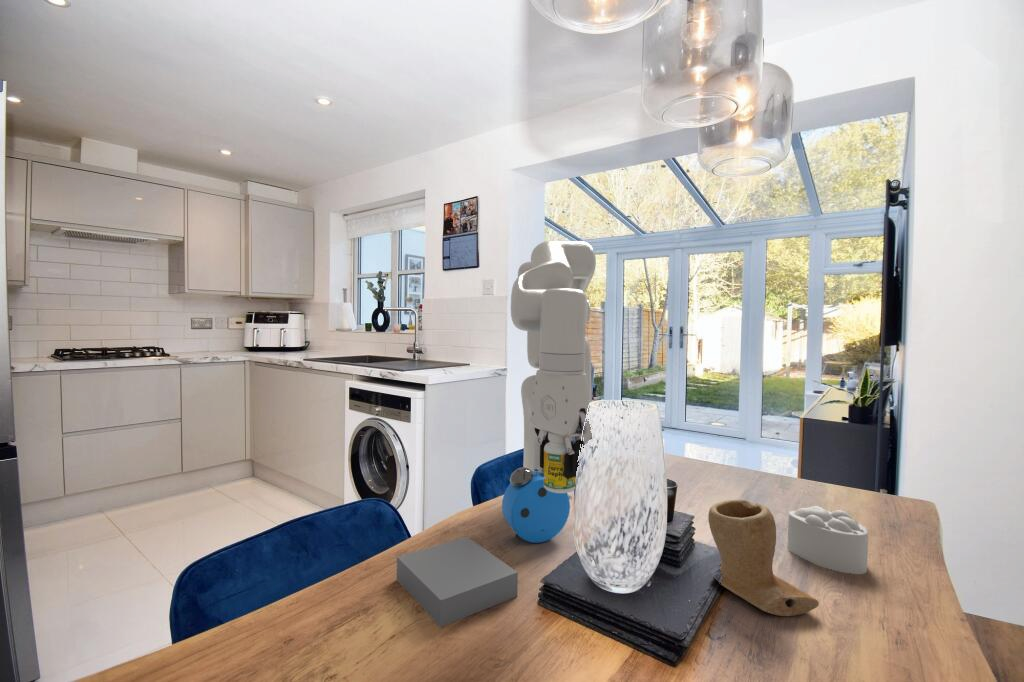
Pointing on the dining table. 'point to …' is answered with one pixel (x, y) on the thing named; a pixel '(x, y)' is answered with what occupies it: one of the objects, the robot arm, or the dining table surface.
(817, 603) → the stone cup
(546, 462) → the supplement bottle
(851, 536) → the lumpy-topped squat cylinder
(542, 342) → the robot arm
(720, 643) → the dining table surface
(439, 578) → the riser block
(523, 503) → the alarm clock
